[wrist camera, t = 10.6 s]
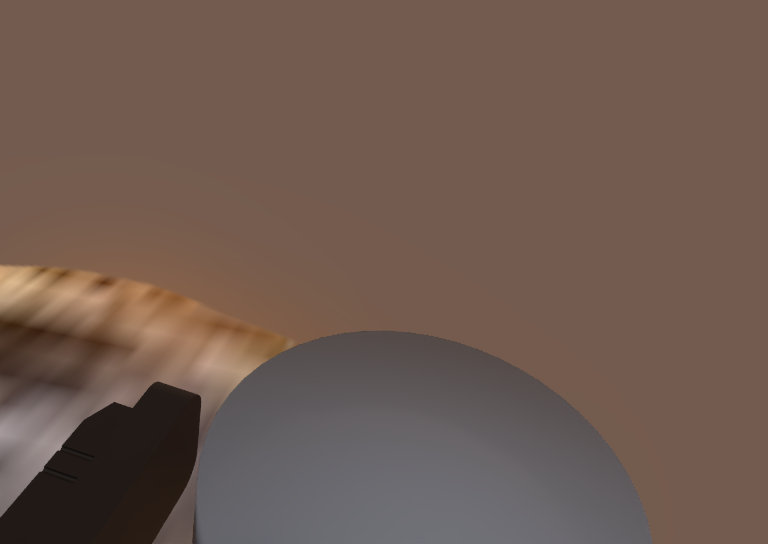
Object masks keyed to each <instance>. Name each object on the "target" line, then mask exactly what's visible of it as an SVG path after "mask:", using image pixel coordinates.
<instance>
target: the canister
mask: <svg viewBox="0 0 768 544" xmlns="http://www.w3.org/2000/svg"><path fill="white" fill-rule="evenodd" d="M192 543H193V544H653V542H652V538H651V533H650V529H649V525H648V520H647V517H646V514H645V511H644V509H643V506H642V503H641V501H640V498H639V495H638V493H637V491H636V489H635V487H634V485H633V483H632V481H631V479H630V477H629V475H628V474H627V472H626V470H625V468H624V467H623V466H622V464H621V462H620V461H619V459H618V458H617V456H616V455H615V453H614V452H613V450H612V449H611V448H610V446H609V445H608V444H607V443H606V441H605V440H604V439H603V438H602V436H601V435H600V434H599V433H598V431H596V429H595V428H594V427H593V426H592V425H591V424H590V423H589V422H588V421H587V420H586V419H585V418H584V417H583V416H582V415H581V414H580V413H579V412H578V411H577V410H576V409H575V408H573V407H572V406H571V405H570V404H569V403H568V402H567V401H565V400H564V399H563V398H562V397H561V396H559V395H558V394H556V393H555V392H554V391H553V390H551V389H550V388H548V387H547V386H546V385H544V384H543V383H542V382H540V381H539V380H537V379H535V378H534V377H532V376H531V375H529V374H527V373H526V372H524V371H522V370H520V369H519V368H517V367H515V366H513V365H511V364H509V363H507V362H505V361H503V360H501V359H500V358H497V357H495V356H492V355H490V354H488V353H485V352H483V351H480V350H478V349H475V348H472V347H469V346H466V345H463V344H460V343H457V342H454V341H450V340H446V339H442V338H438V337H433V336H428V335H422V334H416V333H409V332H395V331H361V332H351V333H342V334H337V335H332V336H327V337H322V338H319V339H316V340H312V341H309V342H306V343H303V344H300V345H298V346H295V347H293V348H291V349H289V350H286V351H284V352H282V353H280V354H278V355H277V356H275V357H273V358H272V359H270V360H268V361H267V362H265V363H263V364H262V365H260V366H259V367H258V368H257V369H255V370H254V371H253V372H252V373H250V374H249V375H248V376H247V377H245V378H244V379H243V380H242V381H241V383H240V384H239V385H238V386H237V387H236V388H235V389H234V390H233V391H232V392H231V393H230V394H229V396H228V397H227V399H226V400H225V402H224V403H223V404H222V406H221V407H220V409H219V410H218V412H217V413H216V415H215V418H214V420H213V422H212V424H211V426H210V428H209V430H208V432H207V435H206V438H205V442H204V445H203V449H202V452H201V456H200V462H199V471H198V480H197V491H196V503H195V515H194V527H193V540H192Z"/></svg>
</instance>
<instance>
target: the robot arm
mask: <svg viewBox="0 0 768 544" xmlns="http://www.w3.org/2000/svg"><path fill="white" fill-rule="evenodd" d="M200 411H201V397H200V396H199V395H197V394H194V393H191V392H188V391H185V390H182V389H179V388H176V387H173V386H170V385H167V384H164V383H161V382H155V383H153V384H152V385H151V386H150V387H149V388H148V389H147V391H146V392H145V393H144V395H143V396H142V397H141V398H140V400H139V401H138V402H137V403H136V405H135V406H134V407H133V408H130V407H127V406H124V405H121V404H118V403H116V402H113V403H112V404H110V405H108V406H107V407H105V408H103V409H102V410H100V411H98V412H97V413H95V414H93V415H91V416H90V417H88V418H86V419H85V420H83V422H82V423H81V424H80V425H79V426H78V427H77V429H76V430H75V431H74V432H73V433H72V434H71V436H70V437H69V438H68V439H67V440H66V441H65V443H64V444H63V445H62V448H61V450H60V451H57V452H56V453H55V454H54V455H53V457H52V458H51V459H50V460H49V461H48V463H47V464H46V465H45V466H44V469H43V471H42V472H39V473H38V474H37V475H36V477H35V478H34V479H33V480H32V481H31V482H30V484H29V485H28V486H27V487H26V488H25V489H24V491H23V492H22V493H21V494H20V495H19V497H18V498H17V499H16V500H15V501H14V502H13V504H12V505H11V506H10V507H9V508H8V509H7V511H6V512H5V513H4V514H3V515H2V516H1V518H0V544H152V543H153V541H154V539H155V538H156V536H157V534H158V533H159V531H160V529H161V528H162V526H163V524H164V523H165V521H166V519H167V518H168V516H169V515H170V513H171V511H172V510H173V508H174V506H175V505H176V503H177V501H178V500H179V498H180V496H181V495H182V493H183V491H184V489H185V488H186V486H187V483H188V481H189V479H190V477H191V474H192V471H193V468H194V465H195V461H196V457H197V447H198V435H199V423H200Z"/></svg>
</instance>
